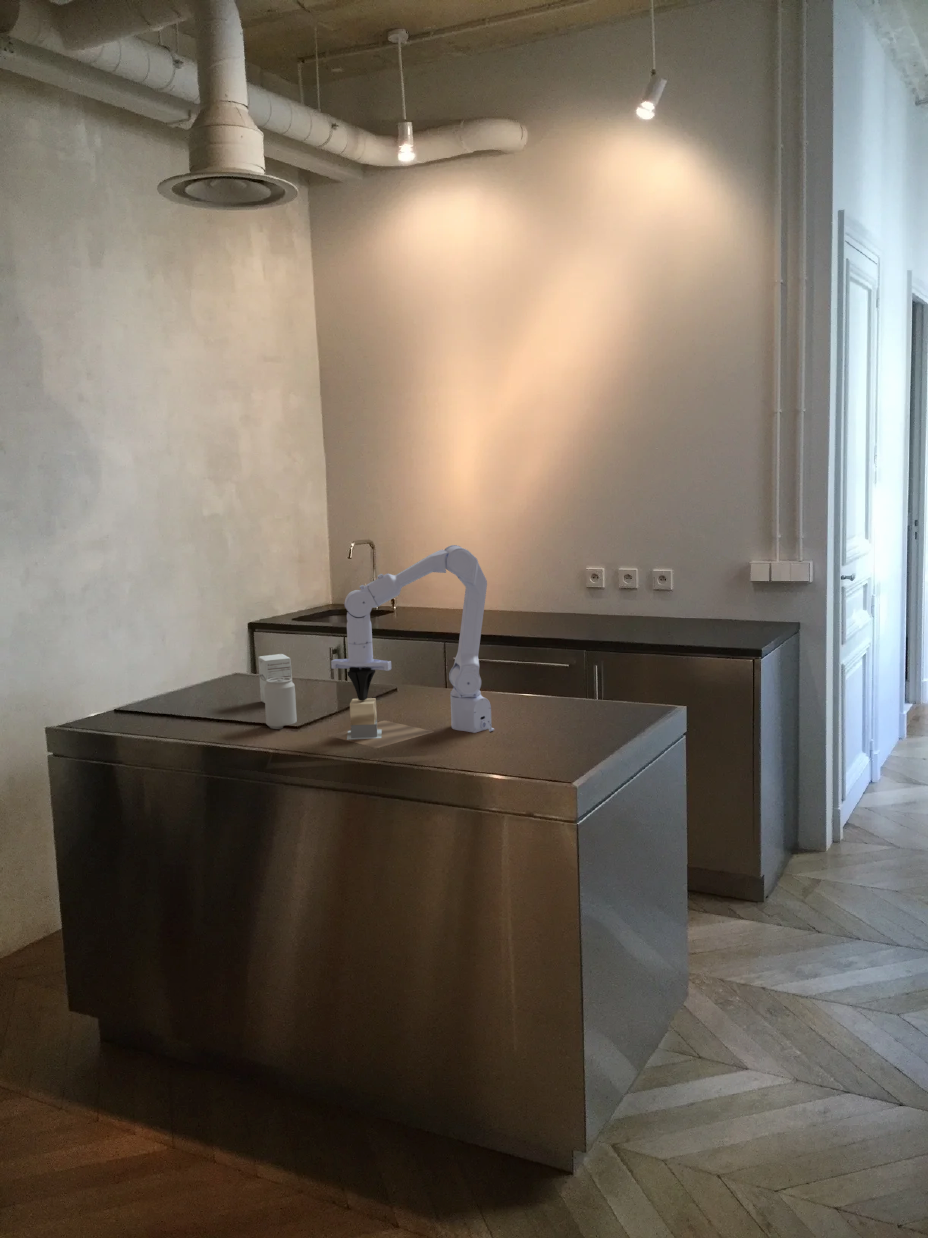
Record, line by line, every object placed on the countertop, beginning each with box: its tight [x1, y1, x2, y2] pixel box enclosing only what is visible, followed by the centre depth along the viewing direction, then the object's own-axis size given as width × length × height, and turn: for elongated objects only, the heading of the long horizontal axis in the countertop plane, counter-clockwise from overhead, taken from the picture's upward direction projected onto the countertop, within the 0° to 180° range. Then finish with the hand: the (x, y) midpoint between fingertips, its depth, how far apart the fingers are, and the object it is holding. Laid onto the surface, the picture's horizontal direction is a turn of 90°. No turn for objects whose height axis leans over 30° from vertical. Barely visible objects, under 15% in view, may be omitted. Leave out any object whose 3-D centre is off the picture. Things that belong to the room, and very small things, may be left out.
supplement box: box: [257, 653, 293, 704], centre depth 299 cm, size 7×7×13 cm
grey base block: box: [350, 719, 378, 738], centre depth 258 cm, size 6×6×3 cm
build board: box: [327, 720, 435, 749], centre depth 259 cm, size 18×18×1 cm
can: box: [264, 677, 298, 730], centre depth 272 cm, size 8×8×12 cm
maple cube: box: [349, 697, 378, 726], centre depth 258 cm, size 6×6×5 cm
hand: (362, 699), depth 257 cm, fingers closed
